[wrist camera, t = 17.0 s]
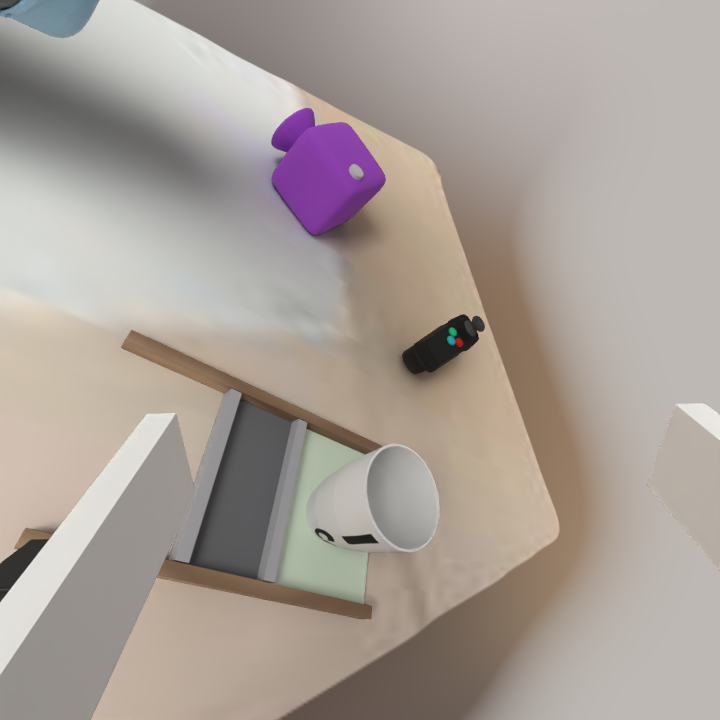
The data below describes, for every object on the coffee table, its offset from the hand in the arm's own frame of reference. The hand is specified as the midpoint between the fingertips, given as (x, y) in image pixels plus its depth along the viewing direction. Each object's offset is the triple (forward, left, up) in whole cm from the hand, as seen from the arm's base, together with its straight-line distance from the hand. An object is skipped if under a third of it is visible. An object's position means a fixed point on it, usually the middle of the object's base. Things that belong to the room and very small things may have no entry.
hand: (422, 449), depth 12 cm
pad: (-6, +15, -27) cm, 32 cm away
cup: (-6, +15, -27) cm, 32 cm away
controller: (-28, +24, -27) cm, 46 cm away
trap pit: (-6, +6, -27) cm, 29 cm away
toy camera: (-44, +3, -27) cm, 52 cm away
